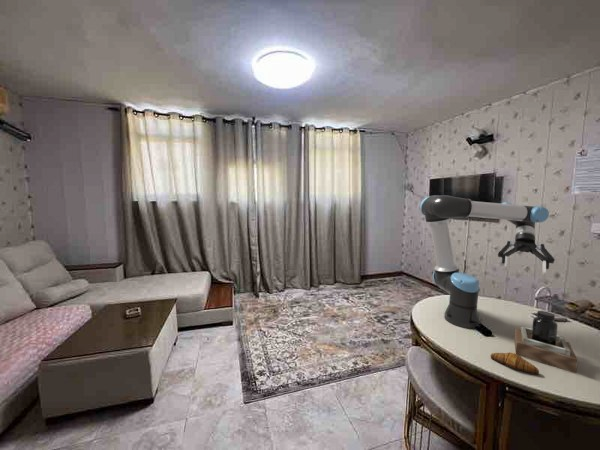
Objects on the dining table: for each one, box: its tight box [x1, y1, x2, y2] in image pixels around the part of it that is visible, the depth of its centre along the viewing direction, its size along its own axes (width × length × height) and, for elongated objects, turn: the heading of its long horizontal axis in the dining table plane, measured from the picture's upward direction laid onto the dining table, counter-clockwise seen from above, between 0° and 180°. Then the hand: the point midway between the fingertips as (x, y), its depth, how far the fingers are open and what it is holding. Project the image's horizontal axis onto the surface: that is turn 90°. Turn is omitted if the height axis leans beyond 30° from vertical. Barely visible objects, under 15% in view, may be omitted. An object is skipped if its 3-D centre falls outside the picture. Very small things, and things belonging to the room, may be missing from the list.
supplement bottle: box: [531, 310, 559, 346], centre depth 95 cm, size 7×7×12 cm
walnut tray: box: [513, 325, 579, 374], centre depth 96 cm, size 16×14×7 cm
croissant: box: [490, 352, 540, 375], centre depth 89 cm, size 14×7×5 cm, turn 48°
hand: (524, 271), depth 114 cm, fingers open, 13 cm apart
